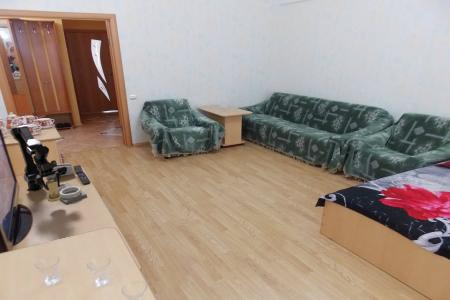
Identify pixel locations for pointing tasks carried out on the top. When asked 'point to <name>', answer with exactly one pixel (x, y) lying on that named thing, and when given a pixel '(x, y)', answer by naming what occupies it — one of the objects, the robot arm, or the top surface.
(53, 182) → the gold pepper grinder
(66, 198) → the board
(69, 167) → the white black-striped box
